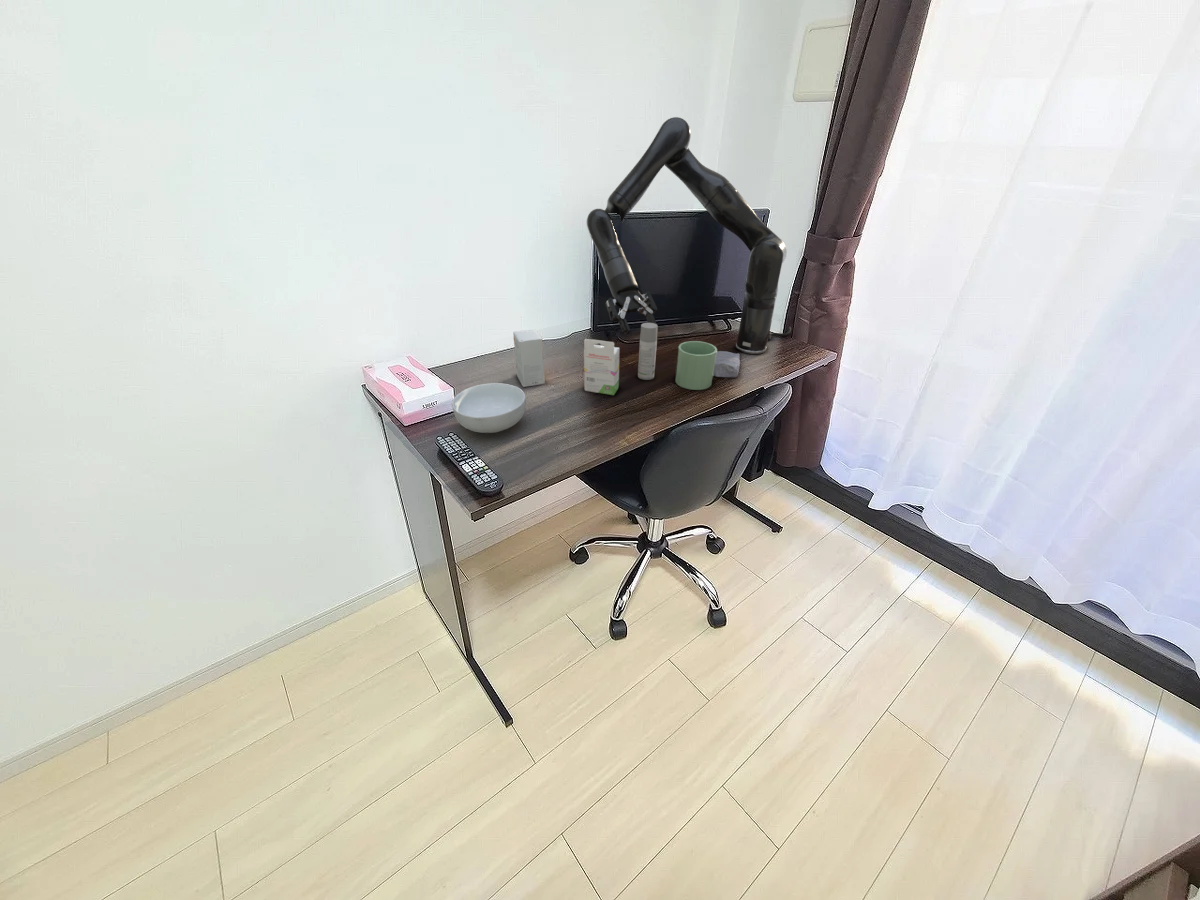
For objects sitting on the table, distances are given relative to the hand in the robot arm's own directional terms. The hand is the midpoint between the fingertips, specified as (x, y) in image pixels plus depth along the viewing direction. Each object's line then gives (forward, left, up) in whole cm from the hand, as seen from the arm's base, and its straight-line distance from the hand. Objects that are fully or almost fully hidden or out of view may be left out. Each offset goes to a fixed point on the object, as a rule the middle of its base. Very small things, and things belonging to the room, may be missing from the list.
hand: (640, 330), depth 138 cm
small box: (+26, -17, -13) cm, 34 cm away
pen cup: (-6, +15, -12) cm, 21 cm away
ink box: (+16, +1, -13) cm, 20 cm away
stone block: (-19, +16, -13) cm, 28 cm away
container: (+1, +4, -13) cm, 13 cm away
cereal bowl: (+48, -4, -13) cm, 50 cm away
